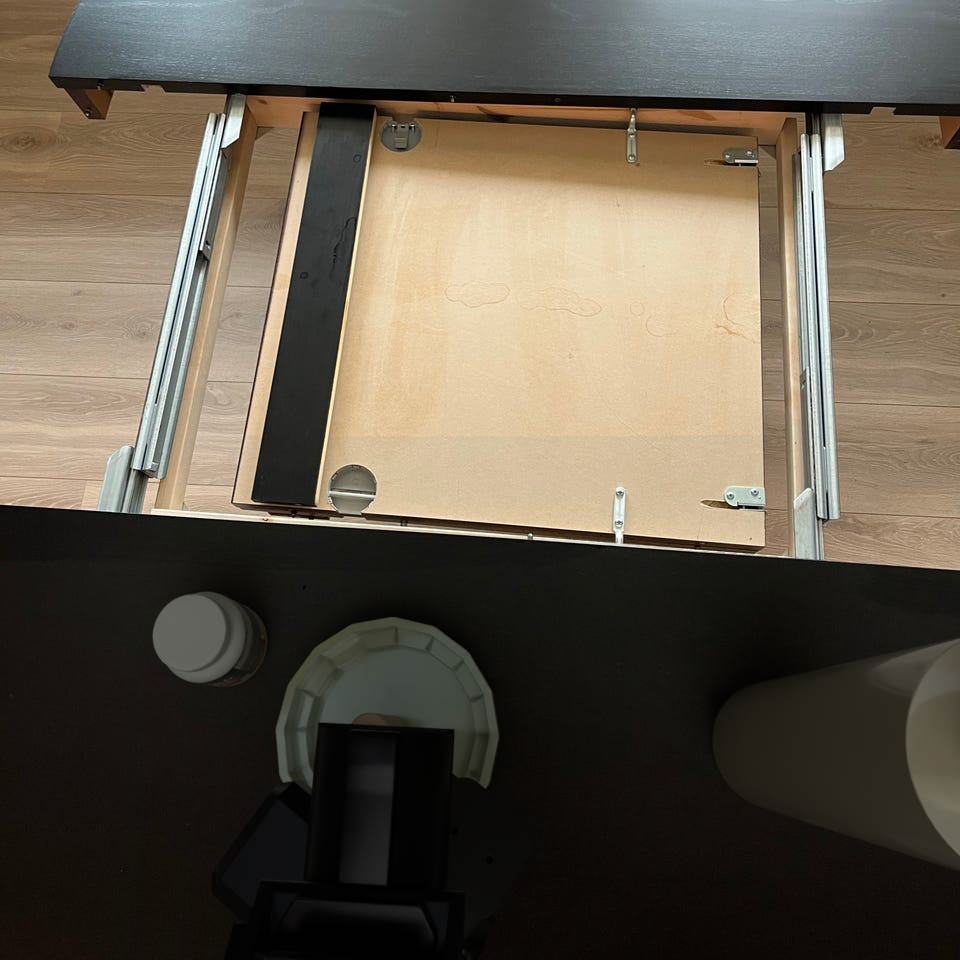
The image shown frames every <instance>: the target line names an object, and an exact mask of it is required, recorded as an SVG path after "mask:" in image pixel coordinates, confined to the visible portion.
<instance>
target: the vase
mask: <svg viewBox="0 0 960 960" xmlns="http://www.w3.org/2000/svg"><path fill="white" fill-rule="evenodd" d="M715 717H716V718H715V721H714V723H713V727H712V737H711V738H712V740H711V741H712V743H711V744H712V751H713V757H714V761H715V764H716V766H717V768H718V771H719V773H720V774H721V777H722V778H723V780H724V781H725V782H726V784H727V785H728V786H729V788H730V789H731V790H732V791H733V792H734V793H735V794H736V795H738V796H739V797H740V798H741V799H742V800H744V801H745V802H747V803H749V804H751V805H753V806H755V807H758V808H761V809H764V810H767V811H770V812H774V813H777V814H779V815H783V816H785V817H789V818H792V819H795V820H798V821H801V822H804V823H808V824H810V825H814V826H817V827H820V828H823V829H826V830H830V831H833V832H835V833H838V834H841V835H844V836H847V837H851V838H854V839H858V840H860V841H863V842H866V843H869V844H872V845H876V846H878V847H882V848H885V849H888V850H892V851H894V852H897V853H901V854H904V855H907V856H910V857H912V858H916V859H919V860H922V861H925V862H928V863H931V864H934V865H937V866H941V867H944V868H947V869H950V870H953V871H956V872H959V873H960V636H957V637H954V638H949V639H944V640H941V641H936V642H932V643H927V644H923V645H918V646H915V647H914V646H913V647H909V648H905V649H900V650H897V651H892V652H888V653H884V654H883V653H882V654H879V655H873V656H870V657H866V658H861V659H856V660H852V661H848V662H843V663H839V664H835V665H831V666H825V667H822V668H817V669H813V670H809V671H804V672H800V673H796V674H790V675H787V676H782V677H778V678H777V677H776V678H773V679H769V680H765V681H764V680H763V681H759V682H756V683H751V684H749V685H746V686H744V687H742V688H740V689H737V691H735V692H734V693H733V694H732V695H730V696H729V697H728V698H727V699H726V701H724V702H723V704H722V706H721V707H720V709H719V711H718V712H717V714H716V716H715Z"/></svg>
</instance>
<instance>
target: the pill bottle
mask: <svg viewBox="0 0 960 960" xmlns="http://www.w3.org/2000/svg"><path fill="white" fill-rule="evenodd" d="M152 643H153V648H154V650H155V653H156V655H157V656H158V658H159V659H160V661H161V662H162V663H163V664H165V665H166V666H167V668H168V669H169V670H170V671H171V672H172V673H173V674H174V676H177V677H178V678H180V679H182V680H184V681H185V682H189V683H194V684H201V685H207V686H214V687H233V686H236V685H239V684H241V683H244V682H245V681H247V680H249V679H250V678H251V677H252V676H253V675H254V674H256V673H257V671H258V670H259V669H260V667H261V665H262V663H263V662H264V659H265V657H266V653H267V649H268V635H267V630H266V627H265V625H264V623H263V620H262V618H261V617H260V616H259V615H258V614H257V613H256V612H255V611H254V610H253V609H252V608H250V607H249V606H246V605H245V604H243V603H242V602H238V601H236V600H234V599H232V598H230V597H229V596H226V595H223V594H220V593H218V592H213V591H199V592H195V593H190V594H184V595H180V596H178V597H176V598H174V599H172V600H171V601H170V602H168V603H167V604H166V605H165V606H164V607H163V609H162V610H161V611H160V613H159V614H158V615H157V617H156V619H155V622H154V626H153V629H152Z"/></svg>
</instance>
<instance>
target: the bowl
mask: <svg viewBox="0 0 960 960" xmlns="http://www.w3.org/2000/svg"><path fill="white" fill-rule="evenodd" d="M364 713H378V714H386V715H393V716H399V717H402V718H403V719H405V720H406V721H407V722H408V724H409V726H410V727H423V728H442V729H455V737H454V756H453V774H454V775H455V776H457V777H458V778H461V777H467V778H471V779H473V780H475V781H476V782H478V783H479V784H480V785H482V786H483V787H484V788H485V789H487V790H488V787H489V786H490V785H491V783H492V780H493V776H494V771H495V766H496V761H497V756H498V752H499V748H500V743H501V742H500V741H501V738H502V737H501V736H502V735H501V730H500V729H501V728H500V722H499V716H498V711H497V704H496V697H495V693H494V691H493V689H492V687H491V685H490V684H489V682H488V681H487V679H486V677H485V675H484V673H483V672H482V671H481V669H480V667H479V665H478V663H477V662H476V661H475V658H474V657H473V656H472V654H471V653H470V652H469V650H467V649H465V648H464V647H463V646H461V645H460V644H459V643H458V642H456V641H455V640H453V639H452V638H451V637H449V636H448V635H447V634H446V633H444V632H443V631H442V630H440V629H439V628H438V627H436V626H434V625H432V624H426V623H422V622H417V621H414V620H409V619H405V618H401V617H397V616H390V617H389V616H388V617H383V618H377V619H372V620H367V621H361V622H355V623H352V624H349V625H347V626H346V627H345V628H343V629H342V630H340V631H338V632H337V633H335V634H334V635H332V636H330V637H329V638H327V639H325V640H324V641H323V642H321V643H320V644H317V645H316V646H315V647H314V648H313V649H312V651H311V652H310V654H309V655H308V656H307V657H306V659H305V660H304V662H303V663H302V664H301V665H300V666H299V669H298V670H296V671H295V674H294V675H293V676H292V678H291V679H290V681H289V682H288V684H287V686H286V690H285V693H284V696H283V700H282V704H281V708H280V711H279V715H278V718H277V721H276V725H275V731H274V732H275V740H276V752H277V763H278V775H279V778H280V780H281V783H284V782H289V781H295V780H302V781H304V782H305V783H306V784H307V785H308V786H310V787H311V788H312V783H313V772H314V762H315V751H316V741H317V730H318V722H323V723H343V724H351V723H352V722H353V720H354V719H355V718H356V717H358V716H359V715H361V714H364Z"/></svg>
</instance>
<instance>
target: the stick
mask: <svg viewBox="0 0 960 960" xmlns="http://www.w3.org/2000/svg"><path fill="white" fill-rule="evenodd" d="M351 724H363V725H383V726H403V727H410V726H409V724H408V722H407V721H406V720H405V719H403V718H402V717H399V716H393V715H386V714H378V713H364V714H361V715H359V716H358V717H356V718H355V719H354V720H353V722H352V723H351Z"/></svg>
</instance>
